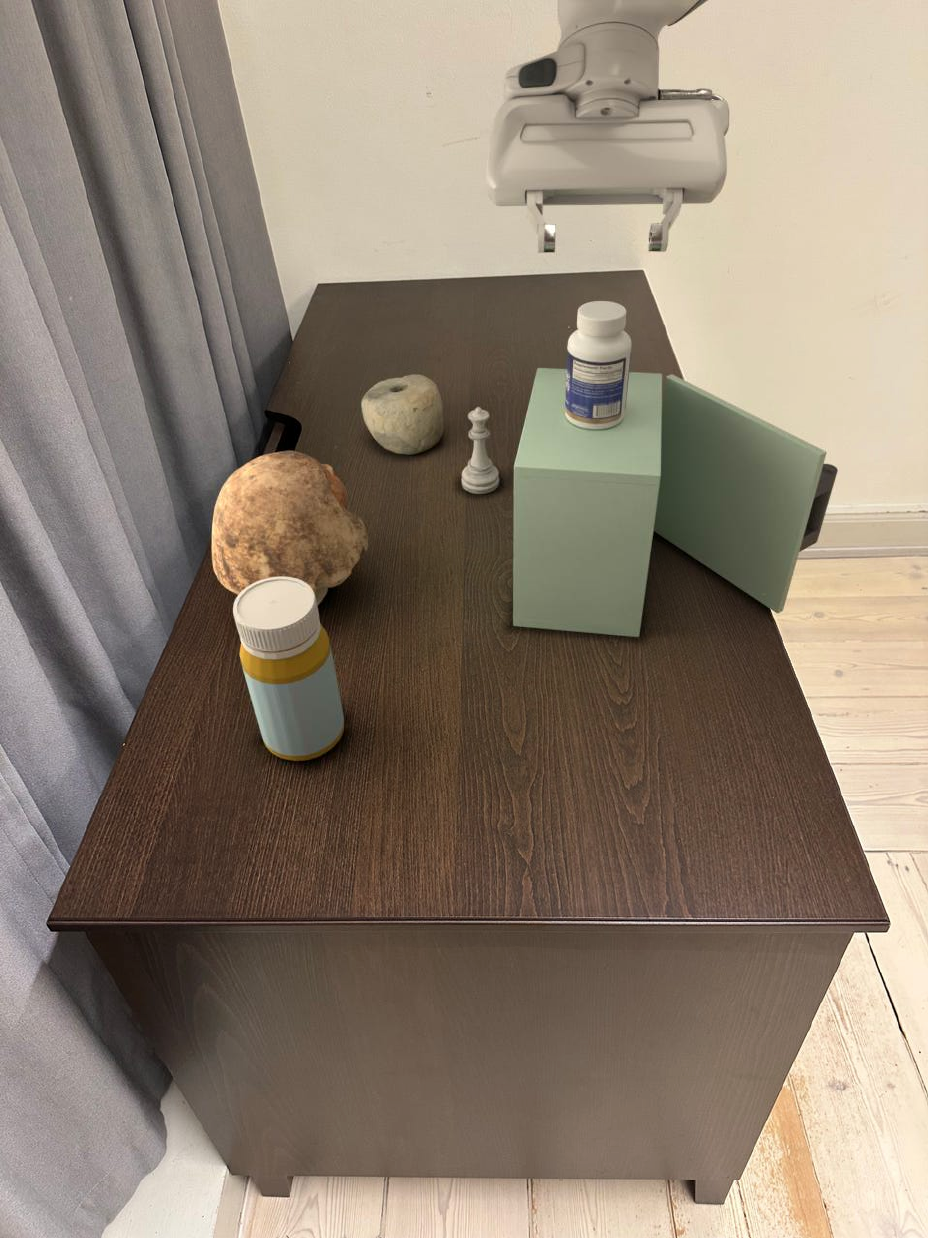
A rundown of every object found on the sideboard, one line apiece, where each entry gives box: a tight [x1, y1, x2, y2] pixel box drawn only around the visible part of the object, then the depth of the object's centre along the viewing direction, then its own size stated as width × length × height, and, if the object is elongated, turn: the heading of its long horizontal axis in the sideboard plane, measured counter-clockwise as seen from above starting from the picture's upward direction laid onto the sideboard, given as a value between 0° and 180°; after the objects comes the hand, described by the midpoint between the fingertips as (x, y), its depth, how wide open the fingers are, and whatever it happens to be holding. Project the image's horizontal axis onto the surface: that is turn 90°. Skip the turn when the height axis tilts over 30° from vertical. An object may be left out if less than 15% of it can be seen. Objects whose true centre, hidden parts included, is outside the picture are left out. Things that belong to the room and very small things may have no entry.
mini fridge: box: [512, 367, 663, 638], centre depth 85 cm, size 12×18×18 cm, turn 170°
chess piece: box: [461, 406, 500, 495], centre depth 101 cm, size 4×4×10 cm
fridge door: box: [653, 373, 839, 614], centre depth 86 cm, size 7×18×18 cm, turn 35°
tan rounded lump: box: [211, 450, 369, 607], centre depth 85 cm, size 15×16×15 cm
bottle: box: [232, 577, 345, 762], centre depth 71 cm, size 7×7×15 cm
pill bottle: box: [565, 300, 633, 429], centre depth 76 cm, size 5×5×10 cm
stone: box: [360, 373, 444, 456], centre depth 110 cm, size 10×10×10 cm
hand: (602, 249), depth 76 cm, fingers open, 8 cm apart
